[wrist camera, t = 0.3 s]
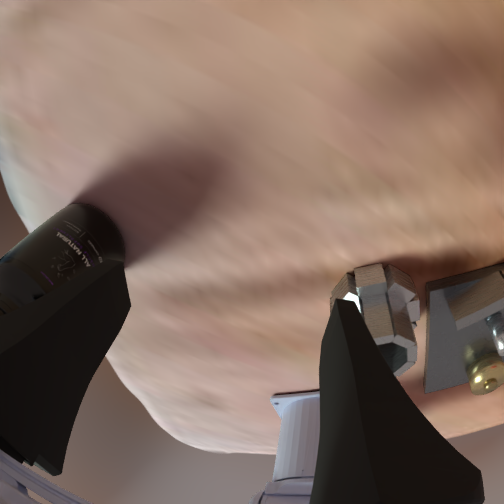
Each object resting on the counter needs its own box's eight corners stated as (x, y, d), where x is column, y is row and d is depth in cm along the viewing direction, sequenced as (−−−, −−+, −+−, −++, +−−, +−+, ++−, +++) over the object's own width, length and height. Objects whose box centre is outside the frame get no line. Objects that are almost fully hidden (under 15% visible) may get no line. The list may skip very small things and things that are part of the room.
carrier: (514, 358, 23) (526, 389, 19) (423, 385, 26) (429, 419, 23) (541, 248, 17) (567, 279, 13) (426, 279, 20) (441, 319, 17)
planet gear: (414, 320, 22) (428, 378, 18) (339, 335, 24) (340, 394, 19) (410, 256, 19) (432, 314, 15) (323, 275, 21) (323, 335, 17)
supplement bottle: (127, 210, 21) (14, 332, 11) (129, 285, 25) (52, 404, 15) (54, 192, 21) (-59, 284, 11) (63, 262, 25) (-20, 359, 15)
